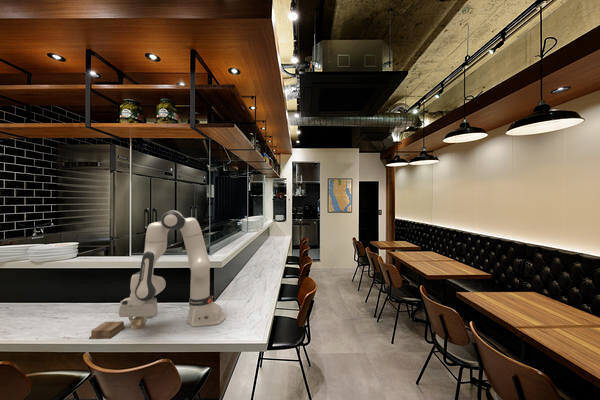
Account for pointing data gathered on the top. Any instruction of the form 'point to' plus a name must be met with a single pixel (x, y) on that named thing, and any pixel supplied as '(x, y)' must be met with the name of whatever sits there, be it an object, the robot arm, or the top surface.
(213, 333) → the top surface
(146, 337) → the top surface
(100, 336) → the walnut pedestal
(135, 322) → the maple cube
